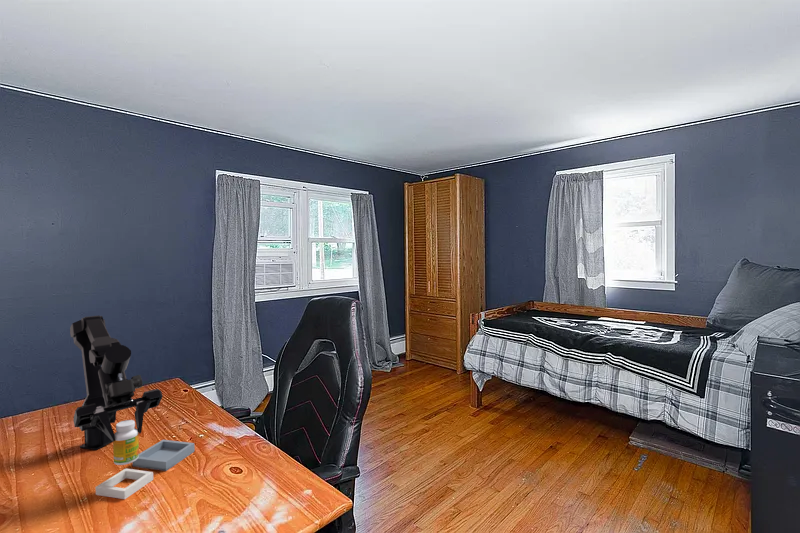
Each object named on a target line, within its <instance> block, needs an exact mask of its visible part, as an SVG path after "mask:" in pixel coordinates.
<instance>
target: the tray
mask: <svg viewBox="0 0 800 533" xmlns="http://www.w3.org/2000/svg"><path fill="white" fill-rule="evenodd" d="M195 447H196V446H195V443H194V442H188V441H178V440H171V439H169V440H168V439H161V440H160V441H159V442H158V441H157V442H156V443H155V444H153V445H151V446H149V447H148V448H147V449H145V450H142V451H141V452H139V457H138V459H137V460H136V461H134V462H132V463H131V465H132V467H134V468H141V469H148V470H154V471H155V470H156V471H163V472H167V471H168V470H170V469H171V468H173V467H174V466H176V465H177V464H178V463H180V462H181V461H183V460H184V459H185V458H187V457H189V456H191V454H193V453H194V452H195V450H196V448H195Z"/></svg>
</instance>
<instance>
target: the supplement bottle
mask: <svg viewBox="0 0 800 533" xmlns="http://www.w3.org/2000/svg"><path fill="white" fill-rule="evenodd" d="M115 424H116V425H115V431H116V432H114V435H115V441H113V442H112V448H113V449H112V450H113V451H112V452H113V464H114V465H117V466H125V465H130V464H132V462H134V461H136V460H137V459H138V457H139V453H140V446H139V445H140V444H139V443H140V442H139V439H140V438H139V432H138V430H137V427H136V420H134V419H126V420H121V421H119V422H118V423H115ZM135 427H136V428H135Z"/></svg>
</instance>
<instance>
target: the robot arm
mask: <svg viewBox="0 0 800 533" xmlns="http://www.w3.org/2000/svg"><path fill="white" fill-rule="evenodd" d="M69 332H70V333H69V334H70V338H72V339H73V344H74V345H75V346H76V347H77V348H78V349H79V350H80V351H81V357H82V365H83V366H82V367H83V374H84V382H85V383H84V384H85V390H86V397H85V399H84V401H83V403H82V405H81V406H78V407H77V408H76V409H75V411H74V415H73V426H74V428H79V429H80V431H81V432H84V443H83V444H82V445H79V448H80V449H87V450H92V451H93V450H95V451H97V450H99V449H102V448H103V447H104V446H107V445H109V444H111V443H113V441H115V435H114V434H115V432H114V430H113V427H112V426H113V425H112V424H114V423H115V424H116V420H117V413H118V412H119V411H122V410H125V409H130V408H131V409H132V408H134V407H135V411H134V413H133V414H134V415H133V416H134V419H135V420H134V421H135V426H136V429H137V430H138V435H140V434H141V433H142V430H143V423H144V415H145V413H147V412H148V410H150V409H153V408H157V407H158V406H159V405H160V403H161V401H162V398H163V393H162V390H160V389H159V388H156V389H155V388H154V389H150V390H145V391H143V393H142V396H140V397H137V398H133V397H134V396H135V392H136V389H140V388H142V387H143V384H144V383H143V378H142V376H141V374H138V375H133V376H131V377H130V378H131V379H128V378H127V376H126V375H127V374H126V372H125V371H126V370H127V369H128V368H127V367H128V365H129V362H130V359H131V356H132V350H131V349H130V348H129V347H128V346H126V345H124V344H121V342H120V341H119V339H117V338H114V337H111V335H110V333H109V332H108V329H107V327H106V320H105V319H104V317H103V315H91V316H84V317H81V319H79V320H78V321H75V322H73V323H71V325H70V328H69Z"/></svg>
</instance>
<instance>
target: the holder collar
mask: <svg viewBox="0 0 800 533" xmlns="http://www.w3.org/2000/svg"><path fill="white" fill-rule="evenodd" d="M126 479H131V480H135V481H134V482H132V483H130V484H129V485H127V486H126V487H117V486H116V485H118V484H119V483H121V482H122V481H124V480H126ZM153 480H154V472H153V471H147V470H139V469H133V468H123V470H121V471H119V472H118V473H116V474H115V475H113V476H111V477H110V478H108V479H106V480H104V481H103V482H101V483H100V484H98V485H96V486H95V495H96V496H100V497H101V496H102V497H108V498H114V499H115V498H116V499H121V500H126V499H127V498H129V497H131V496H132V495H133V494H135V493H136V492H138V491H139V490H140V489H142V488H143V487H145V486H146V485H148V484H149V483H150V482H152V481H153Z"/></svg>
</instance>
